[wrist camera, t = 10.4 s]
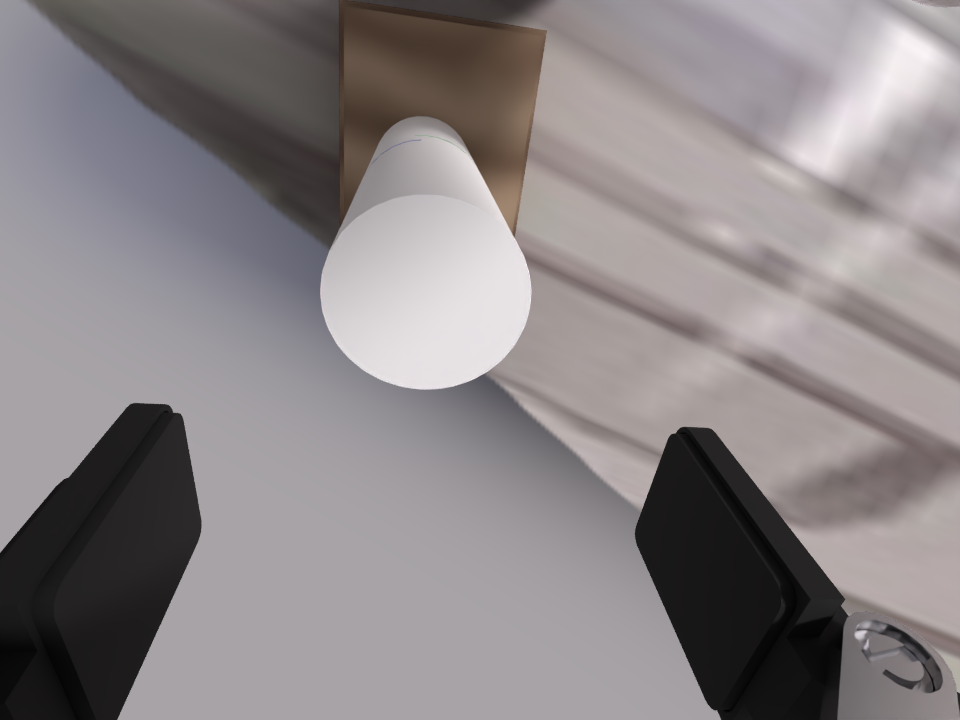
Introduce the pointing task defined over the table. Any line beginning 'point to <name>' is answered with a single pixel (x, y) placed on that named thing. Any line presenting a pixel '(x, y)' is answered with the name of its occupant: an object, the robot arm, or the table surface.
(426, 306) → the cylindrical container
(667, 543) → the robot arm
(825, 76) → the table surface
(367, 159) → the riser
